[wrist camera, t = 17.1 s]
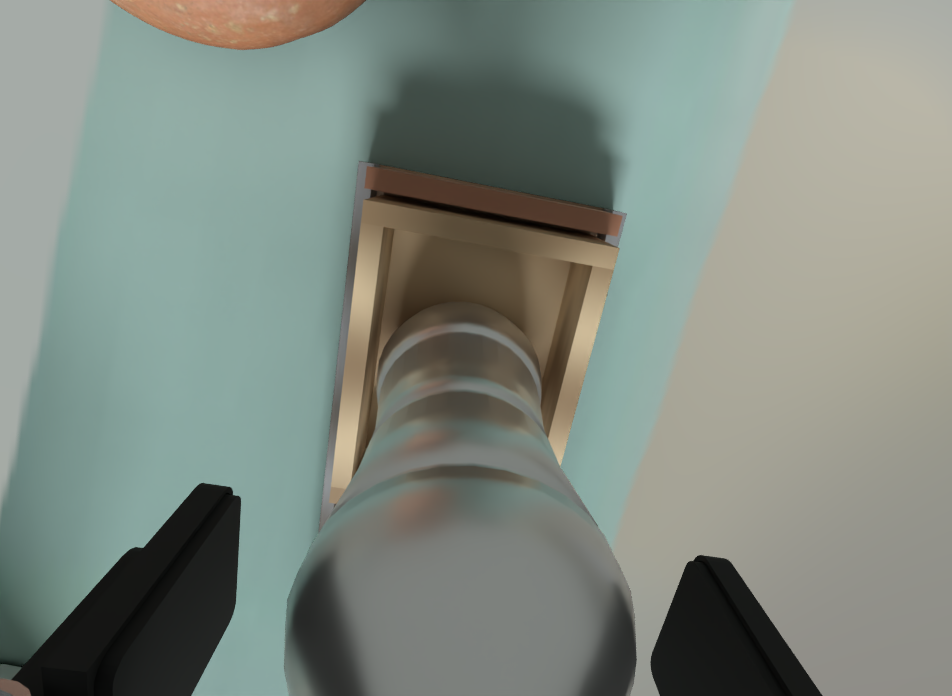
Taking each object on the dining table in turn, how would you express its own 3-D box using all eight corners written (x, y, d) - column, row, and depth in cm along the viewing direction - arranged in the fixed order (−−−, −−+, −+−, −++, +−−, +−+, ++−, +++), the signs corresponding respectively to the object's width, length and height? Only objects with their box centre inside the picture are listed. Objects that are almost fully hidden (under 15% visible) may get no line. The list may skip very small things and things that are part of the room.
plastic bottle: (388, 283, 22) (-11, 913, 4) (542, 295, 23) (928, 927, 4) (383, 416, 25) (122, 1251, 6) (525, 426, 25) (720, 1243, 6)
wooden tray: (506, 616, 31) (512, 674, 27) (319, 591, 30) (299, 648, 27) (612, 210, 24) (639, 216, 20) (368, 162, 23) (349, 159, 19)
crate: (529, 476, 27) (542, 533, 23) (351, 449, 26) (329, 502, 22) (591, 234, 23) (619, 248, 19) (382, 195, 22) (363, 199, 18)
